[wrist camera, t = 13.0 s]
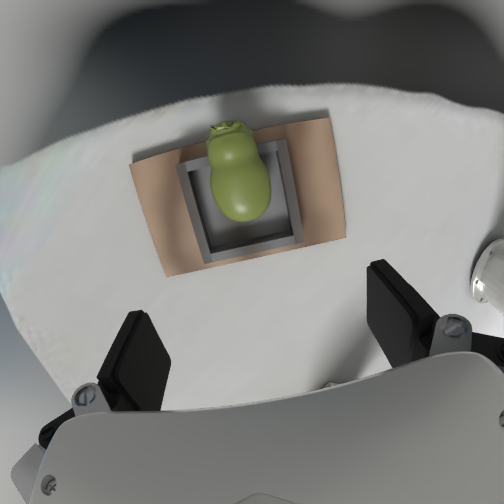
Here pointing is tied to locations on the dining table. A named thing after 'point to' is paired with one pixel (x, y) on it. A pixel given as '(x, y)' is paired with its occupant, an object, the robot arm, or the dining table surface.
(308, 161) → the tray
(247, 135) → the pear
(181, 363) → the dining table surface
